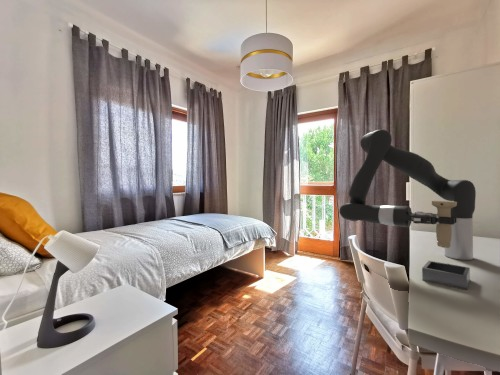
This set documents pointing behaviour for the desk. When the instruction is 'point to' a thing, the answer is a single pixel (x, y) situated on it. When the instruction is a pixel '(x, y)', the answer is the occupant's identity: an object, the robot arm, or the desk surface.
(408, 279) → the desk surface
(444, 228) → the handle
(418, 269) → the desk surface
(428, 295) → the desk surface
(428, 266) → the grey square tray
